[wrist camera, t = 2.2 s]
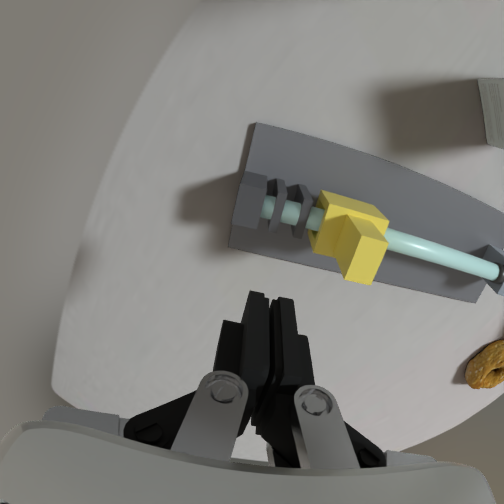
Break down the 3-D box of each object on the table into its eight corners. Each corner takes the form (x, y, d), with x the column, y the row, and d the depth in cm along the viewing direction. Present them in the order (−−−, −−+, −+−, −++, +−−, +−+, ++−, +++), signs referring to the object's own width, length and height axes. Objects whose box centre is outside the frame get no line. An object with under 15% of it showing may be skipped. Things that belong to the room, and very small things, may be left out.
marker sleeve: (320, 189, 25) (341, 223, 18) (373, 205, 25) (410, 242, 18) (307, 232, 27) (320, 280, 20) (358, 245, 27) (386, 294, 20)
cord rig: (256, 122, 25) (253, 124, 20) (512, 218, 27) (540, 236, 22) (228, 244, 30) (220, 272, 25) (473, 300, 32) (493, 326, 27)
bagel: (476, 341, 36) (489, 362, 31) (519, 331, 35) (532, 349, 31) (453, 384, 40) (463, 405, 36) (496, 372, 39) (506, 390, 35)
